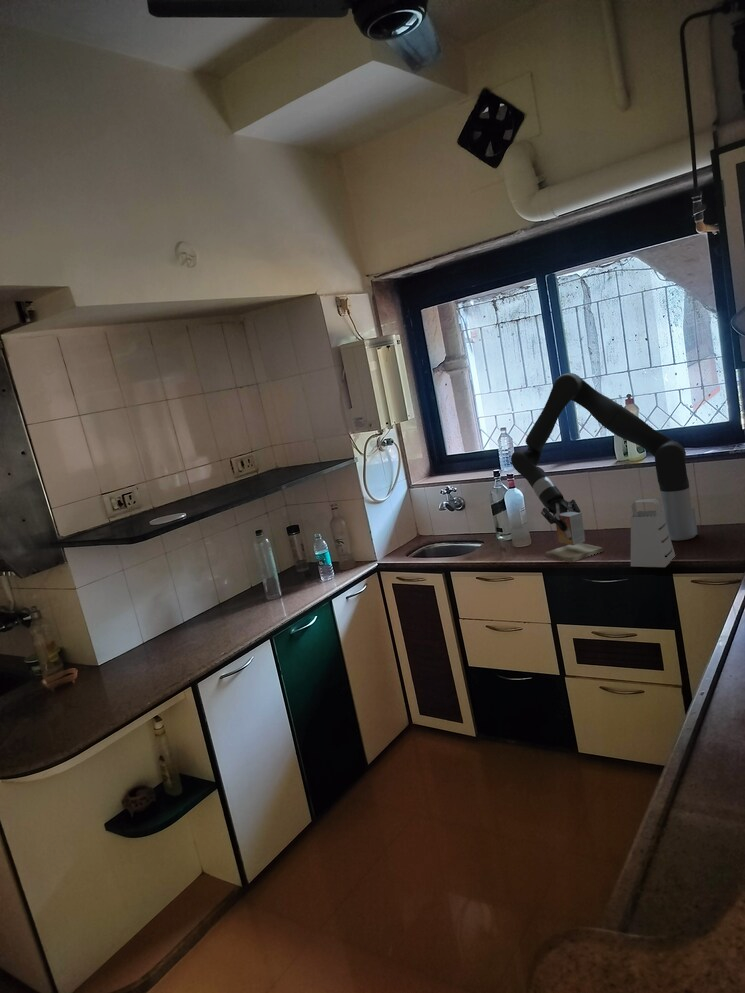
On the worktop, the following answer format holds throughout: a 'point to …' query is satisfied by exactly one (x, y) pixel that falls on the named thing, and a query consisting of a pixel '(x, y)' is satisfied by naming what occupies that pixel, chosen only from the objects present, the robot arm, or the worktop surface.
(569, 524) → the small box
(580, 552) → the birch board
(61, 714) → the worktop surface
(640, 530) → the grater
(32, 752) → the worktop surface
